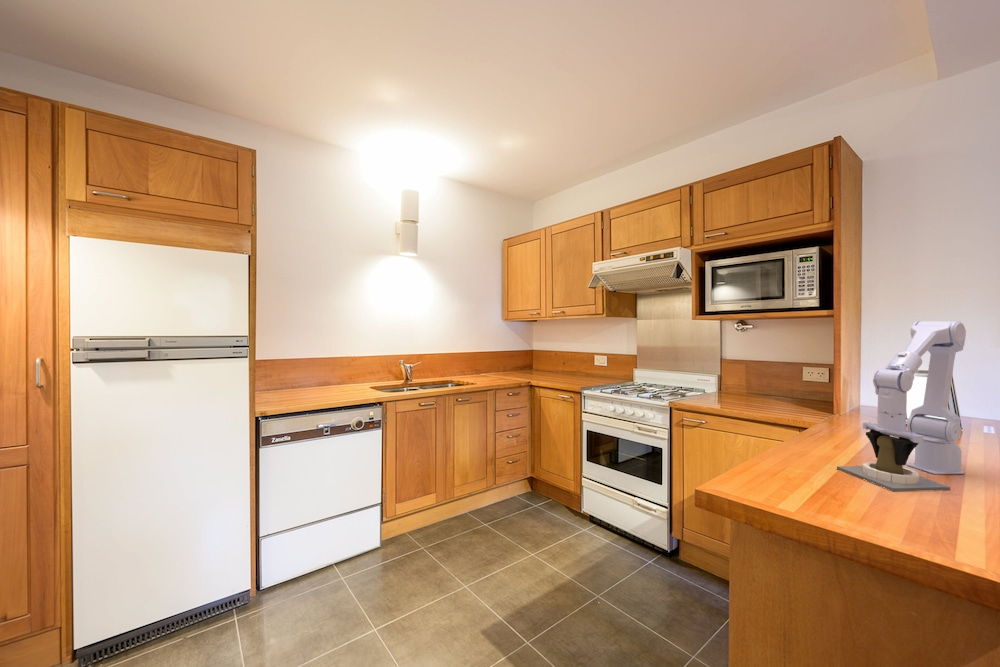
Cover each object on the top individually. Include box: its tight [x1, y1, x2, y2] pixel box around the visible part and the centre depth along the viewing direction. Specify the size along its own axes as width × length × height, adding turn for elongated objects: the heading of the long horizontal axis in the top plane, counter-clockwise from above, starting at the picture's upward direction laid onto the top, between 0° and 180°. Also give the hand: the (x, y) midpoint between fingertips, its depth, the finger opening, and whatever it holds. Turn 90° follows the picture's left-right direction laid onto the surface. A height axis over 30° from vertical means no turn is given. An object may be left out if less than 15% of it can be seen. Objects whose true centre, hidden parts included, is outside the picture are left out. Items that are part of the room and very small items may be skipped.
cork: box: [875, 435, 904, 475], centre depth 112 cm, size 6×6×11 cm
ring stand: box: [836, 461, 951, 492], centre depth 112 cm, size 16×16×3 cm
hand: (890, 461), depth 112 cm, fingers closed on cork, 5 cm apart
